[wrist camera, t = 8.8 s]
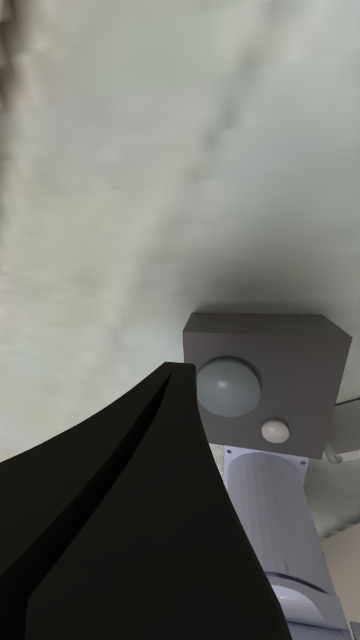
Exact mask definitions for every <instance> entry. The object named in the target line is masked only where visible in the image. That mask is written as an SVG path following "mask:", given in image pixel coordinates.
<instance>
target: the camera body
mask: <svg viewBox="0 0 360 640" xmlns="http://www.w3.org/2000/svg"><path fill="white" fill-rule="evenodd" d="M351 340H352V337H351V336H350V335H348V334H347V333H346V332H344V331H343V330H342V329H340V328H339V327H338V326H336V325H335V324H334V323H332V322H331V321H330V320H329V319H327V318H326V317H325V316H323V315H284V314H205V313H192V314H191V316H190V318H189V320H188V322H187V324H186V326H185V328H184V330H183V348H184V363H191V364H194V365H195V366H196V379H197V404H198V409H199V413H200V417H201V421H202V424H203V428H204V431H205V434H206V437H207V440H208V443H212V444H219V445H226V446H232V447H239V448H246V449H253V450H259V451H266V452H273V453H280V454H286V455H293V456H300V457H307V458H313V459H320V460H321V459H322V455H323V451H324V447H325V443H326V439H327V435H328V431H329V427H330V423H331V419H332V415H333V411H334V407H335V403H336V399H337V395H338V392H339V388H340V384H341V380H342V376H343V372H344V368H345V364H346V360H347V356H348V352H349V348H350V344H351Z"/></svg>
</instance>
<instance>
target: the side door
mask: <svg viewBox="0 0 360 640" xmlns="http://www.w3.org/2000/svg"><path fill="white" fill-rule="evenodd" d="M324 452H325V454H326V456H327V458H328V460H329V462H331V463H334V464H338V463H341V462H346V461H351V460H356V459H360V399H359V400H356V401H352V402H349V403H345V404H341V405H338V406H335V407H334V411H333V415H332V419H331V423H330V427H329V431H328V435H327V439H326V443H325V447H324Z"/></svg>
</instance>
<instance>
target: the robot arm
mask: <svg viewBox="0 0 360 640" xmlns="http://www.w3.org/2000/svg"><path fill="white" fill-rule="evenodd" d="M308 464H309V458H307V457H300V456H293V455H286V454H280V453H273V452H266V451H259V450H253V449H246V448H239V447H232V446H226V445H224V481H223V480H222V478H221V475H220V473H219V470H218V468H217V465H216V463H215V460H214V457H213V455H212V452H211V449H210V446H209V443H208V440H207V437H206V434H205V431H204V428H203V424H202V421H201V417H200V413H199V409H198V404H197V379H196V366H195V365H194V364H191V363H176V362H164V363H163V364H162V365H161V366H159V367H158V368H157V369H156V370H155V371H153V372H152V373H151V374H150V375H148V376H147V377H146V378H145V379H143V380H142V381H141V382H140V383H138V384H137V385H136V386H135V387H133V388H132V389H131V390H129V391H128V392H127V393H125V394H124V395H122V396H121V397H120V398H118V399H117V400H115V401H114V402H113V403H111V404H110V405H108V406H107V407H105V408H104V409H102V410H101V411H99V412H98V413H96V414H94V415H93V416H91V417H89V418H88V419H86V420H84V421H83V422H81V423H79V424H77V425H76V426H74V427H72V428H70V429H68V430H66V431H64V432H62V433H61V434H59V435H57V436H55V437H53V438H51V439H49V440H47V441H45V442H43V443H42V444H40V445H37V446H35V447H33V448H31V449H29V450H27V451H25V452H23V453H21V454H18V455H16V456H14V457H12V458H10V459H7V460H5V461H3V462H1V463H0V640H352V637H351V634H350V631H349V628H348V625H347V622H346V619H345V615H344V612H343V609H342V606H341V603H340V599H339V597H338V596H337V595H336V592H335V589H334V586H333V583H332V580H331V576H330V573H329V570H328V567H327V564H326V560H325V557H324V554H323V551H322V548H321V544H320V541H319V538H318V534H317V531H316V528H315V525H314V522H313V518H312V515H311V512H310V509H309V505H308V502H307V499H306V496H305V493H304V489H303V486H304V481H305V477H306V472H307V468H308ZM350 625H351V629H352V632H353V635H354V638H355V640H360V623H359V622H353V621H350Z"/></svg>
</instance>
